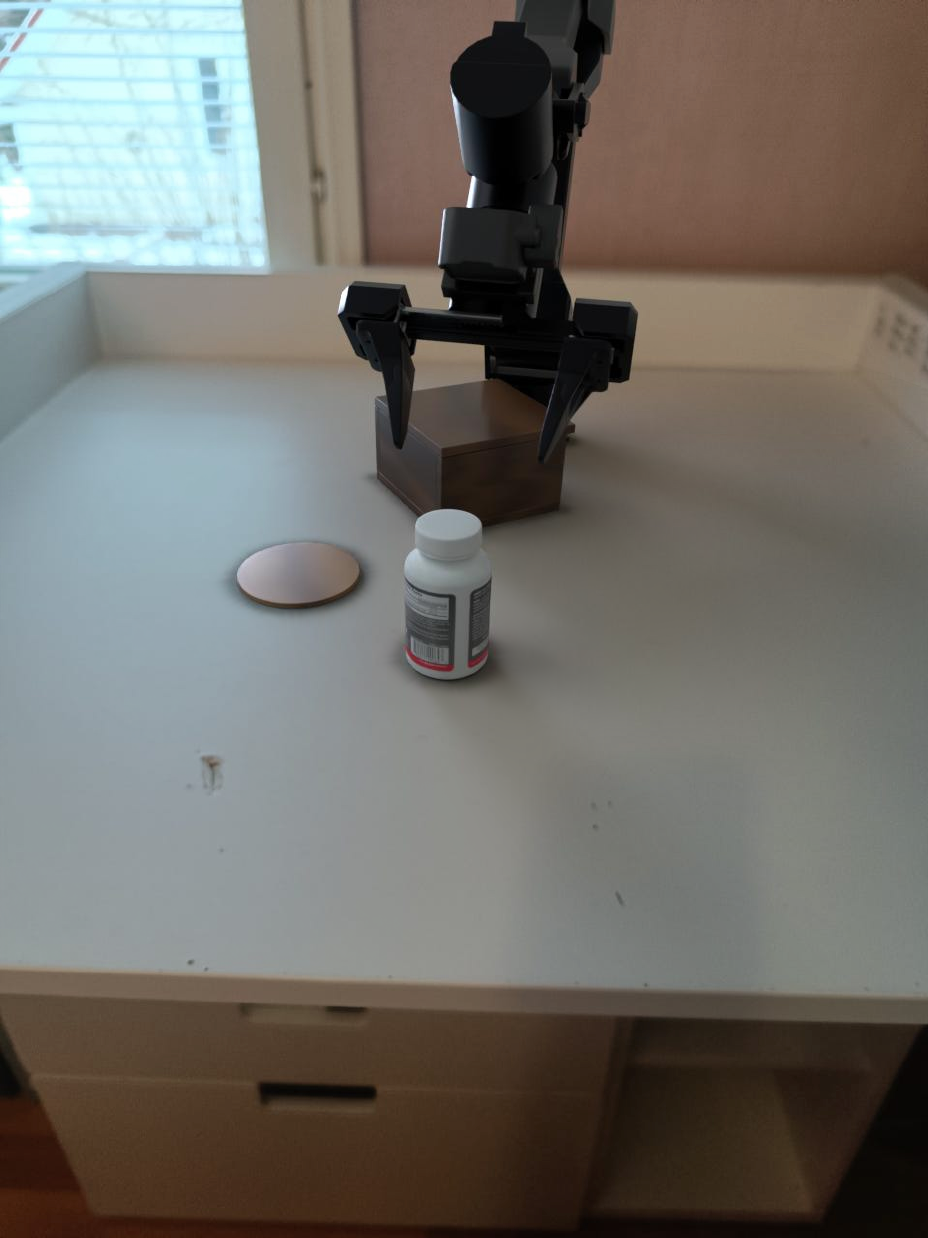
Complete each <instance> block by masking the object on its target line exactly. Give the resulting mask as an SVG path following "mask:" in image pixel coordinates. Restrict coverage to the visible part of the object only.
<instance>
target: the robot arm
mask: <svg viewBox="0 0 928 1238" xmlns="http://www.w3.org/2000/svg"><path fill="white" fill-rule="evenodd" d="M616 4H617V1H616V0H515V11H514V21H512V20H511V21H510V20H493V23H492V30H491V35H488V36H486V37H483V38H481V39H478V40H476V41H475V42H473V43H472V44H470V45H469V46H467V47H466V48H465V49H464V50H463V51H462V52H461V53H460V54H459V56H458V57H457V59H456V60H455V61H454V62H453V63H452V64H451V68H450V72H449V84H450V85H449V86H450V91H451V97H452V104H453V110H454V116H455V124H456V129H457V136H458V142H459V148H460V155H461V160H462V161H461V162H462V164H463V168H464V170H465V172H466V174H467V175H468V176H469V177H471V179H470V185H469V190H468V191H469V192H468V196H467V202H466V206H447V207H445V208H444V209H443V213H442V222H441V233H440V243H439V251H438V252H439V253H438V263H437V267H438V268H439V270H443V273H442V277H441V284H440V289H441V293H442V297H443V298H446V299H449V301H448V302H449V303H448V308H447V309H439V308H427V307H413V305H412V301H411V298H410V295H409V292H408V289H407V286H406V284H401V283H391V282H389V283H388V282H377V281H376V282H375V281H362V280H354V281H353V282H351V283H350V284H349V285H347V287H346V288H345V289H344V290H343V291H342V292H341V296H340V301H339V305H338V311H337V317H338V320H339V322H340V325H341V326H342V329H343V331H344V333H345V335H346V337H347V340H348V341H349V343H350V345H351V348H352V350H353V352H354V354H355V356H356V357H357V358H360V359H362V360H365V361H367V362H369V366H370V367H371V369H372V370H374V371H376V372H379V373H381V374H382V379H383V383H384V384H383V385H384V389H385V395H386V397H387V404H388V411H389V418H390V425H391V432H392V438H393V444H394V446H395V448H396V449H398V450H401V449H402V448H403V444H404V441H405V438H406V434H407V430H408V422H409V414H410V407H411V399H412V391H414V383H415V376H416V375H415V373H416V367H415V365H414V362H413V359H412V357H413V356H414V355H415V352H416V346H417V343H418V341H417V340H419V341H428V342H441V343H454V344H465V345H475V346H476V345H477V346H483V351H484V353H483V356H484V380H491V379H497V378H498V379H500V380H501V381H503V382H505V383H506V384H508V385H510V386H511V387H513V388H515V389H517V390H518V391H520V392H522V393H523V394H525V395H527V396H528V397H530V398H532V399H534V400H535V401H537V402H539V403H540V404H542V405H544V406H545V407H547V408H548V410H547V413H546V417H545V421H544V424H543V428H542V432H541V437H540V444H539V451H538V464H541V465H544V464H545V463H546V461H547V459H548V457H549V456H550V454H551V452H552V451H553V449H554V447H555V445H556V444H557V442H558V440H559V438H560V437H561V435H562V433H563V432H564V430H565V428H566V427H567V425H568V423H569V422H570V421H572V419H573V417H574V416H575V415H576V414H577V412H578V411H579V410H580V409H581V407H582V406H583V405H584V404H585V402H586V401H587V399H588V398H589V397H590V396H591V394H593V393H604V392H607V391H608V390H609V383H613V384H622V383H625V382H628V381H630V377H631V372H632V371H631V369H632V363H633V355H634V354H633V353H634V347H635V341H636V333H637V328H638V327H637V326H638V320H639V319H638V318H639V311H638V310H637V309H636V308H635V306H634V305H633V303H632V302H631V301H623V300H610V299H598V298H584V297H582V298H581V297H576V298H575V300H574V303H573V301H572V296H571V294H570V292H569V289H568V287H567V285H566V282H565V280H564V277H563V275H562V268H563V267H562V265H563V259H564V249H565V242H566V233H567V232H566V231H567V225H568V216H569V215H568V214H569V206H570V198H571V191H572V190H571V189H572V181H573V175H574V174H573V173H574V164H575V156H576V147H577V143H579V141H580V138H583V133H584V129H585V128H586V127H587V126H588V125H589V124H590V119H591V110H592V108H591V107H592V104H591V102H590V100H589V99H590V98H591V96H592V95H593V94H594V92H595V91H596V90H597V88H598V87H599V85H600V84H601V81H602V79H601V78H602V74H603V73H602V72H603V65H604V58H605V56H611V55H612V51H613V43H614V35H615V34H614V33H615V26H616V25H615V23H616V12H617V11H616V10H617V9H616V6H617V5H616ZM566 435H567V438H566V443H567V442H569V441H570V434H566Z"/></svg>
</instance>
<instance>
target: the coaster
mask: <svg viewBox="0 0 928 1238" xmlns="http://www.w3.org/2000/svg"><path fill="white" fill-rule="evenodd" d="M360 578H361V568H360V564H359V561H358V560H357V559H356V558H355V556H354V555H353V554H351V553H349V552H348V551H347V550H345V549H343V548H340V547H338V546H336V545H332V544H328V543H322V542H313V541H297V542H289V543H288V542H287V543H282V544H277V545H273V546H269V547H266V548H263V549H261V550H259V551H257V552H255V553H253V554H251V555H250V556H248V557H247V558H246V559H245V560H244V561H243V562H242V563H241V564H240V566H239V568H238V570H237V572H236V582H237V586H238V588H239V590H240V592H241V593H242V594H243V595H244V596H246V597H247V598H248V599H250V600H252V601H254V602H256V603H259V604H261V605H264V606H269V607H272V608H273V607H274V608H279V609H303V608H305V609H306V608H312V607H313V608H314V607H317V606H322V605H324V604H325V605H326V604H329V603H332V602H334V601H336V600H338V599H340V598H342V597H344V596H346V595H347V594H349V593H350V592H352V590H353V589H354V588H355V587H356V586H357V584H358V582H359V580H360Z"/></svg>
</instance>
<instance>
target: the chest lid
mask: <svg viewBox="0 0 928 1238" xmlns="http://www.w3.org/2000/svg"><path fill="white" fill-rule="evenodd" d="M375 406H377V407H378V408H379V409H380V410H382V411H383V412H384V413H385V414H387V415H388V416H389V411H388V404H387V397H386V394H384V395H377V396H375V397H374V407H375ZM547 410H548V408H547V407H545V406H544V405H542V404H540V403H539V402H537V401H535V400H534V399H532V398H530V397H528V396H527V395H525V394H523V393H522V392H520V391H518V390H517V389H515V388H513V387H511V386H510V385H508V384H506V383H505V382H503V381H501V380H500V379H498V378H497V379H491V380H486V379H484V380H478V381H471V382H463V383H457V384H451V385H445V386H438V387H431V388H425V389H418V390H417V389H416V390H413V391H412V399H411V407H410V414H409V422H408V430H407V431H408V432H410V433H411V434H412V435H413V436H415V437H416V438H417V439H418V440H420V441H421V442H422V443H423V444H425V445H426V446H427V447H429V448H430V449H431V450H432V451H434V452H435V453H436V454H437V455H439V456H440V457H441V458H444V457H449V456H454V455H460V454H465V453H470V452H476V451H481V450H486V449H492V448H497V447H502V446H508V445H513V444H518V443H524V442H529V441H534V440H540V437H541V432H542V428H543V424H544V421H545V417H546V413H547ZM575 433H576V423H574V422H573V421H572V420H570V422H569V423H568V425H567V427H566V428H565V430H564V432H563V433H562V435H566V434H567V435H572V434H575Z"/></svg>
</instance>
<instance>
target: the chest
mask: <svg viewBox="0 0 928 1238" xmlns="http://www.w3.org/2000/svg"><path fill="white" fill-rule="evenodd" d="M374 423H375V424H374V427H375V459H376V479H377V480H379V482H381V483H382V484H383V485H384V486H385V487H386V488H387V489H388V490H389V491H390V492H391V493H392V494H393V495H394V496H395V497H397V498H398V500H400V502H402V503H403V504H404V505H405V506H406V507H408V509H410V510H411V511H412V512H413V513H414V514H415V515H416V516H417V517H418V518H419V517H421V516H422V515H424V514H426V513H428V512H431V511H435V510H442V509H453V510H461V511H465V512H468V513H471V514H473V515H474V516H476V517H477V518H478V519H479V520H480V521H481V524H482V528H485V527H489V526H490V527H491V526H495V525H500V524H503V523H507V522H512V521H515V520H520V519H525V518H528V517H533V516H537V515H542V514H546V513H551V512H554V511H555V512H556V511H558V510H560V509H561V508H560V507H561V500H562V499H561V498H562V489H563V478H564V469H565V468H564V466H565V457H566V448H567V442H566V438H567V435H568V434H567V435H561V437H560V438H559V440H558V442H557V444H556V445H555V447H554V449H553V451H552V452H551V454H550V456H549V457H548V459H547V461H546V463H545V464H544V465H541V464H538V451H539V444H540V440H534V441H529V442H524V443H518V444H513V445H508V446H502V447H497V448H492V449H486V450H481V451H476V452H470V453H465V454H460V455H454V456H449V457H444V458H441V457H440V456H439V455H437V454H436V453H435V452H434V451H432V450H431V449H430V448H429V447H427V446H426V445H425V444H423V443H422V442H421V441H420V440H418V439H417V438H416V437H415V436H413V435H412V434H411V433H410V432H408V431H407V434H406V438H405V441H404V444H403V448H402V449H401V450H398V449H396V448H395V446H394V444H393V438H392V432H391V425H390V418H389V416H388V415H387V414H385V413H384V412H383V411H382V410H380V409H379V408H378V407H377V406H375V405H374Z"/></svg>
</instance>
